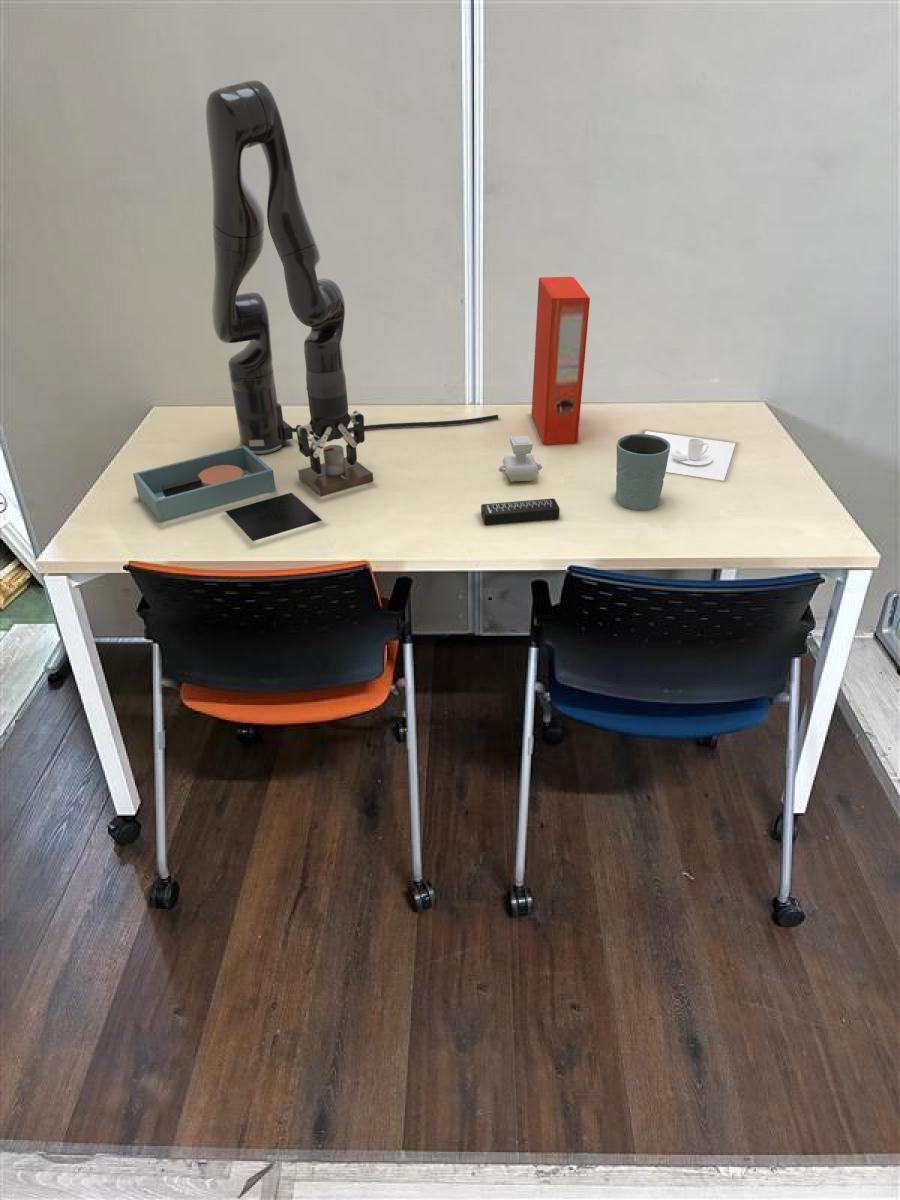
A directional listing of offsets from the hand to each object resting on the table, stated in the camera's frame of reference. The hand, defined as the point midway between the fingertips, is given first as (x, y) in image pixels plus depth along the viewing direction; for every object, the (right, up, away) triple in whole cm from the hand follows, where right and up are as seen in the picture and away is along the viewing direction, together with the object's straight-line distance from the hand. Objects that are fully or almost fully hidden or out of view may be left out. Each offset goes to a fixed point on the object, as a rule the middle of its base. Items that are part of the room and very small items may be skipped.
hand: (334, 467), depth 175 cm
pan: (-26, -6, -2) cm, 26 cm away
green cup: (+60, -7, -5) cm, 61 cm away
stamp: (+38, -2, +4) cm, 38 cm away
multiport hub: (+37, -11, -10) cm, 40 cm away
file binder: (+48, +13, +25) cm, 55 cm away
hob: (-10, -12, -10) cm, 19 cm away
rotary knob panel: (0, -3, +2) cm, 4 cm away
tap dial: (0, -1, +1) cm, 1 cm away
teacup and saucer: (+74, +5, +12) cm, 75 cm away
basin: (-25, -6, -1) cm, 26 cm away
